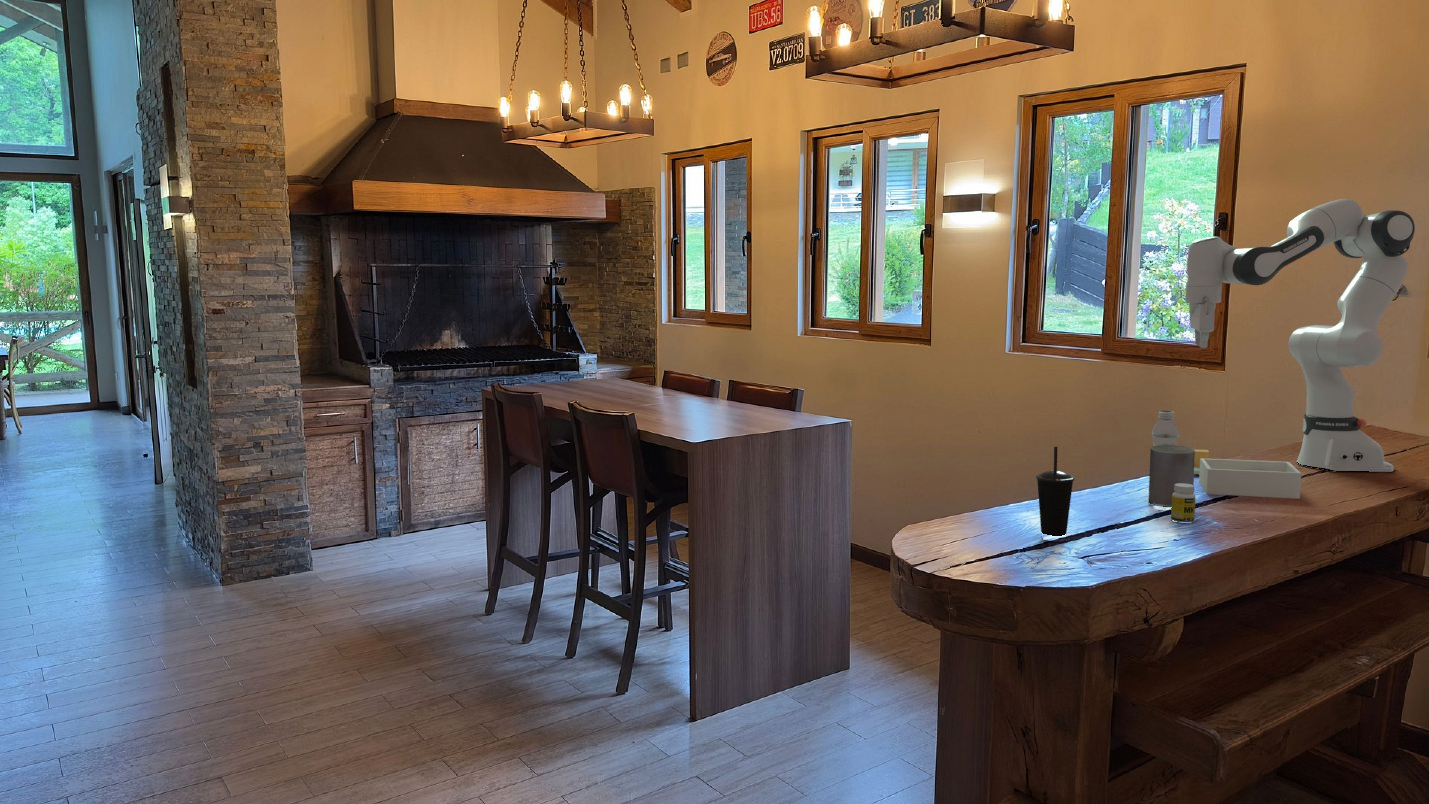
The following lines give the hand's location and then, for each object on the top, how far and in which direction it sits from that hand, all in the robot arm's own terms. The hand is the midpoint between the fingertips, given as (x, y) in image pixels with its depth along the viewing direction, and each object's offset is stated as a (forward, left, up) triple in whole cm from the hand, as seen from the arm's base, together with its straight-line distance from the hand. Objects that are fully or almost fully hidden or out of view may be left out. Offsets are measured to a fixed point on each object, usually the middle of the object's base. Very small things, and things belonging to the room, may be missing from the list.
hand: (1201, 346), depth 264 cm
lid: (-8, +10, -34) cm, 36 cm away
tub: (-8, +31, -34) cm, 47 cm away
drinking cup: (+37, +86, -34) cm, 100 cm away
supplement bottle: (+10, +64, -34) cm, 73 cm away
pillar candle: (+11, +48, -34) cm, 60 cm away
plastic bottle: (+11, +30, -34) cm, 47 cm away
